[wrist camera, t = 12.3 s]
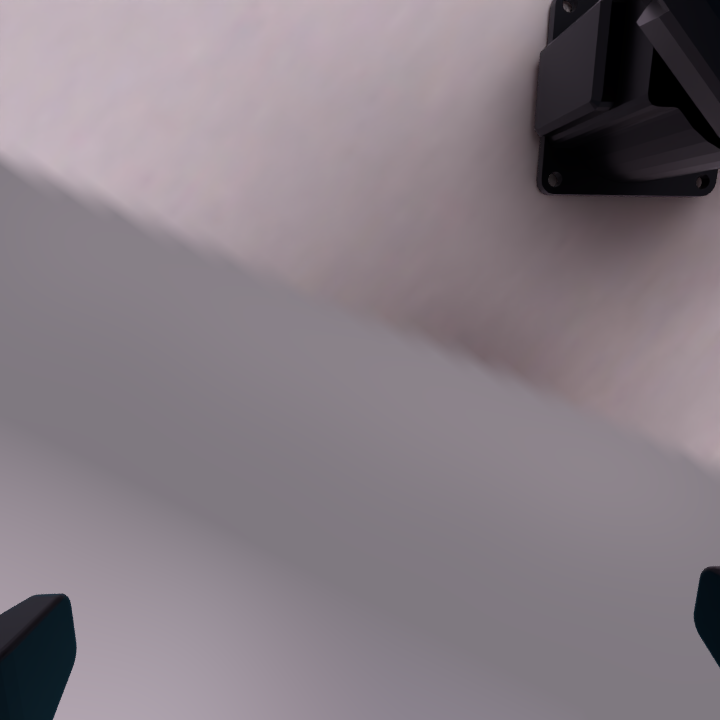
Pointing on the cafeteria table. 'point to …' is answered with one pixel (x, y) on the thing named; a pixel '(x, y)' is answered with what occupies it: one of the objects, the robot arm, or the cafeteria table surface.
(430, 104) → the cafeteria table surface
